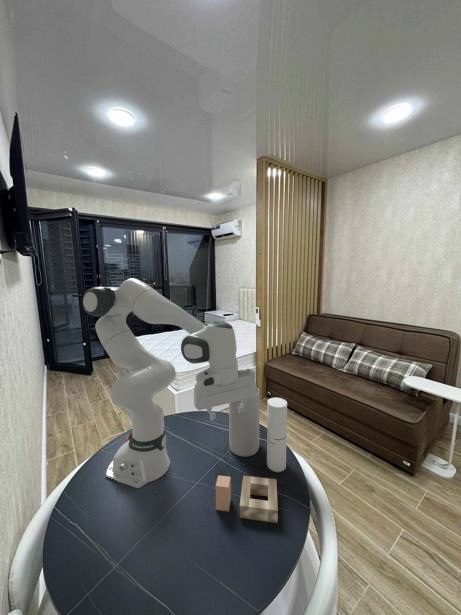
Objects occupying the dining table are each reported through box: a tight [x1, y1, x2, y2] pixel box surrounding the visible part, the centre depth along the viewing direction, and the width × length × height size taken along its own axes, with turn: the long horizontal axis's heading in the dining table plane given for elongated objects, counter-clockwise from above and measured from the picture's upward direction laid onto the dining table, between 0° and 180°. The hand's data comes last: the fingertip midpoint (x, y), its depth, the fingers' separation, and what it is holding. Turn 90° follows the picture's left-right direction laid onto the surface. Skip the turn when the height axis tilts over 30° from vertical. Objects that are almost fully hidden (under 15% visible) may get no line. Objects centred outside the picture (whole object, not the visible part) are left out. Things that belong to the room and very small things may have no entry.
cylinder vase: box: [228, 386, 261, 457], centre depth 100 cm, size 12×12×25 cm
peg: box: [215, 475, 232, 512], centre depth 75 cm, size 4×4×8 cm
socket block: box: [239, 475, 279, 524], centre depth 76 cm, size 11×11×4 cm
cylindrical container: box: [266, 397, 288, 473], centre depth 90 cm, size 7×7×25 cm
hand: (227, 415), depth 77 cm, fingers open, 8 cm apart
